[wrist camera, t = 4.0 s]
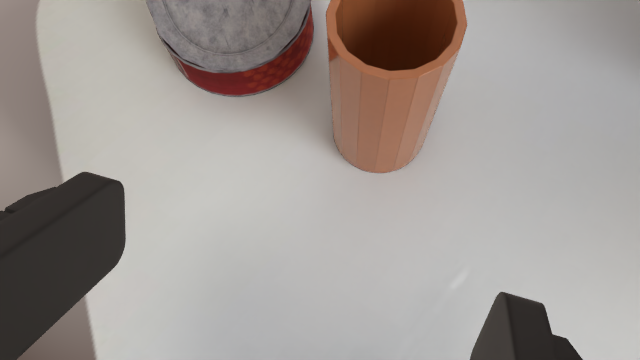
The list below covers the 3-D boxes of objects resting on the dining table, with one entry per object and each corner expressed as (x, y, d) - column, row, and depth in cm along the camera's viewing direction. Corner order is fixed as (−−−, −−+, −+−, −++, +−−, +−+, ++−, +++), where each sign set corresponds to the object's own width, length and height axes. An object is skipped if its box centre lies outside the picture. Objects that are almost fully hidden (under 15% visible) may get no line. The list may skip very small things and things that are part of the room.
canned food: (320, 57, 37) (378, 12, 27) (214, 131, 34) (238, 110, 25) (231, -75, 35) (261, -173, 25) (110, -7, 32) (94, -88, 23)
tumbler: (418, 87, 30) (455, -44, 20) (429, 169, 29) (476, 72, 18) (330, 94, 31) (322, -32, 20) (336, 176, 29) (331, 84, 18)
